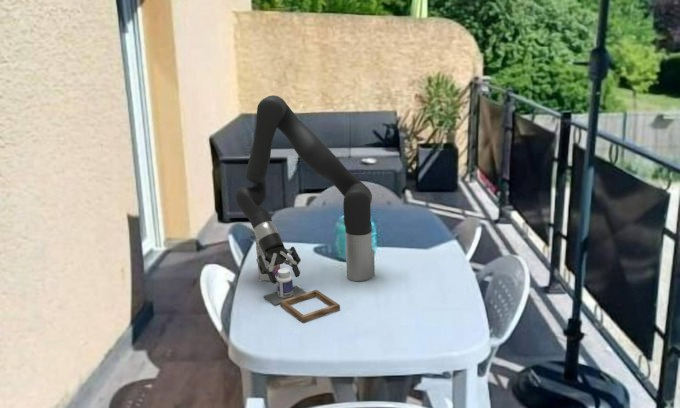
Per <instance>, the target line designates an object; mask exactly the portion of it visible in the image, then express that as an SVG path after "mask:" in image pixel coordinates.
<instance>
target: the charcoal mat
mask: <svg viewBox="0 0 680 408" xmlns="http://www.w3.org/2000/svg"><path fill="white" fill-rule="evenodd" d="M304 293H307V291H305V290H303V289H302V288H301V287H299V286H298V285H293V295H292V296H291V297H288V298H281V297H279V296H278V293H277V291H275V292H272V293H268V294H266V295H265V294H264V295H262V296H263V297H264V298H263V299H265V300H266V301H267V302H268V303H270V304H271V305H273V306H274V307H276V306H277V307H278V306H279V305H280V301H282V300H285V299H289V298H292V297H295V296H298V295H301V294H304Z"/></svg>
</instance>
